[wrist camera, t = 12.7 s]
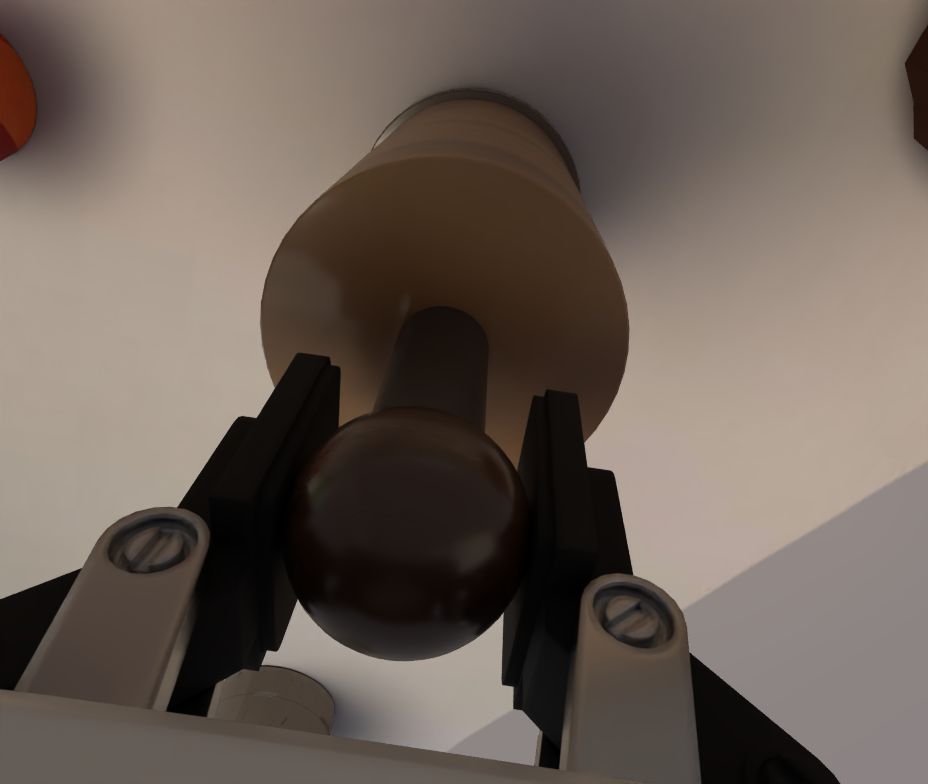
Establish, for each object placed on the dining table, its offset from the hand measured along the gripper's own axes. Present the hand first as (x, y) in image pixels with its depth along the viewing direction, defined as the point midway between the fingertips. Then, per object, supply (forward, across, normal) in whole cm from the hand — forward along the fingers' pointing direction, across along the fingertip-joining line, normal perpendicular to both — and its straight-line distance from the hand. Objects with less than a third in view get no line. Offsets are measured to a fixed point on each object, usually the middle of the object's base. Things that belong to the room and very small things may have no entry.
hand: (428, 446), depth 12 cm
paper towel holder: (+17, 0, 0) cm, 17 cm away
